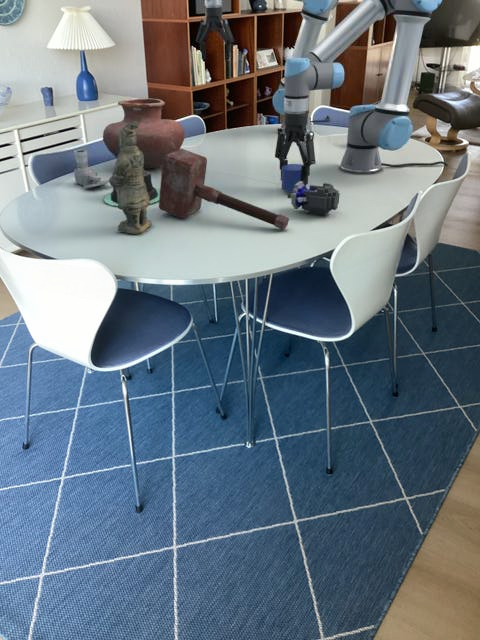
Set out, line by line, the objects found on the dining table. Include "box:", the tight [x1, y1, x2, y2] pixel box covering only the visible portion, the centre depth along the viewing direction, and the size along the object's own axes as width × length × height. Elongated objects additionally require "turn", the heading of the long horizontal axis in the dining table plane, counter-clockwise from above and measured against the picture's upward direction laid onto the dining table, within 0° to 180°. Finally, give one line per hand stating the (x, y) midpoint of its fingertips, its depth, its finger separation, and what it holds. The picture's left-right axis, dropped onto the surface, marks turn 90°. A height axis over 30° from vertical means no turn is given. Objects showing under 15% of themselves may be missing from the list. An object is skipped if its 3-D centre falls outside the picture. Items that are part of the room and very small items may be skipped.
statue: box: [108, 121, 153, 235], centre depth 154 cm, size 11×9×30 cm
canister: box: [281, 163, 303, 193], centre depth 187 cm, size 8×8×7 cm
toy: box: [287, 181, 341, 216], centre depth 168 cm, size 9×9×15 cm
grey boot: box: [73, 148, 110, 189], centre depth 197 cm, size 9×12×15 cm
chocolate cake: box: [103, 168, 160, 207], centre depth 186 cm, size 15×19×20 cm
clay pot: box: [102, 98, 186, 169], centre depth 213 cm, size 30×30×25 cm
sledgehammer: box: [158, 148, 290, 231], centre depth 163 cm, size 17×10×40 cm
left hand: (215, 59), depth 256 cm, fingers open, 13 cm apart
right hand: (294, 182), depth 187 cm, fingers closed on canister, 8 cm apart
